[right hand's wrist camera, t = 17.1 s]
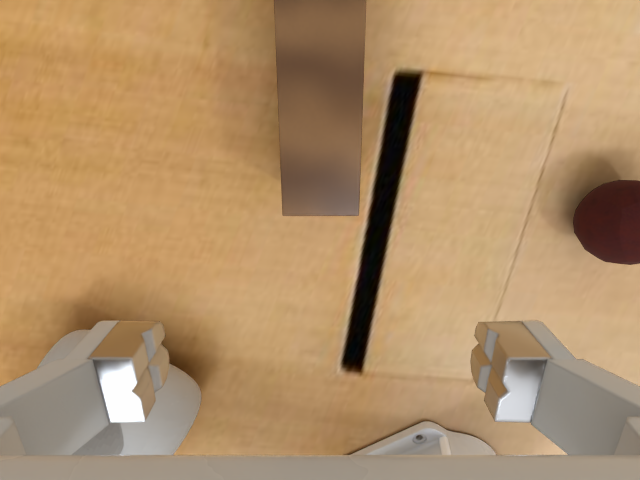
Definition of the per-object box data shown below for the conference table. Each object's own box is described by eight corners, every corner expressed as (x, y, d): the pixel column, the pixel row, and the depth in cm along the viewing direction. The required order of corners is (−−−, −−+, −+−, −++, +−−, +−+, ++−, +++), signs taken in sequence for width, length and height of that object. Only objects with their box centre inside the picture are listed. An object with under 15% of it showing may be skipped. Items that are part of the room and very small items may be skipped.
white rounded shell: (-21, 340, 44) (-171, 454, 31) (173, 292, 42) (103, 394, 29) (75, 478, 52) (-11, 617, 39) (242, 444, 50) (213, 580, 37)
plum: (633, 160, 37) (700, 177, 31) (642, 232, 40) (705, 263, 33) (552, 189, 38) (600, 212, 32) (566, 259, 41) (613, 293, 34)
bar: (351, 187, 38) (358, 216, 30) (290, 187, 38) (282, 216, 30) (360, -204, 28) (377, -318, 20) (278, -203, 28) (261, -317, 20)
